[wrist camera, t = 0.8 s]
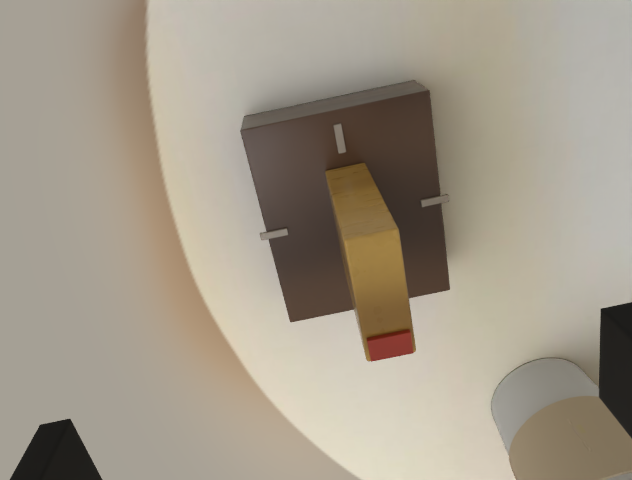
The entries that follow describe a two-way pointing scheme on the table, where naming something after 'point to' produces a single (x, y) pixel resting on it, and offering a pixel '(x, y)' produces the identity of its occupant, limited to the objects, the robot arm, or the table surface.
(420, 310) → the table surface
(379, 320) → the lock knob
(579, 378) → the coffee cup
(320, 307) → the plate
